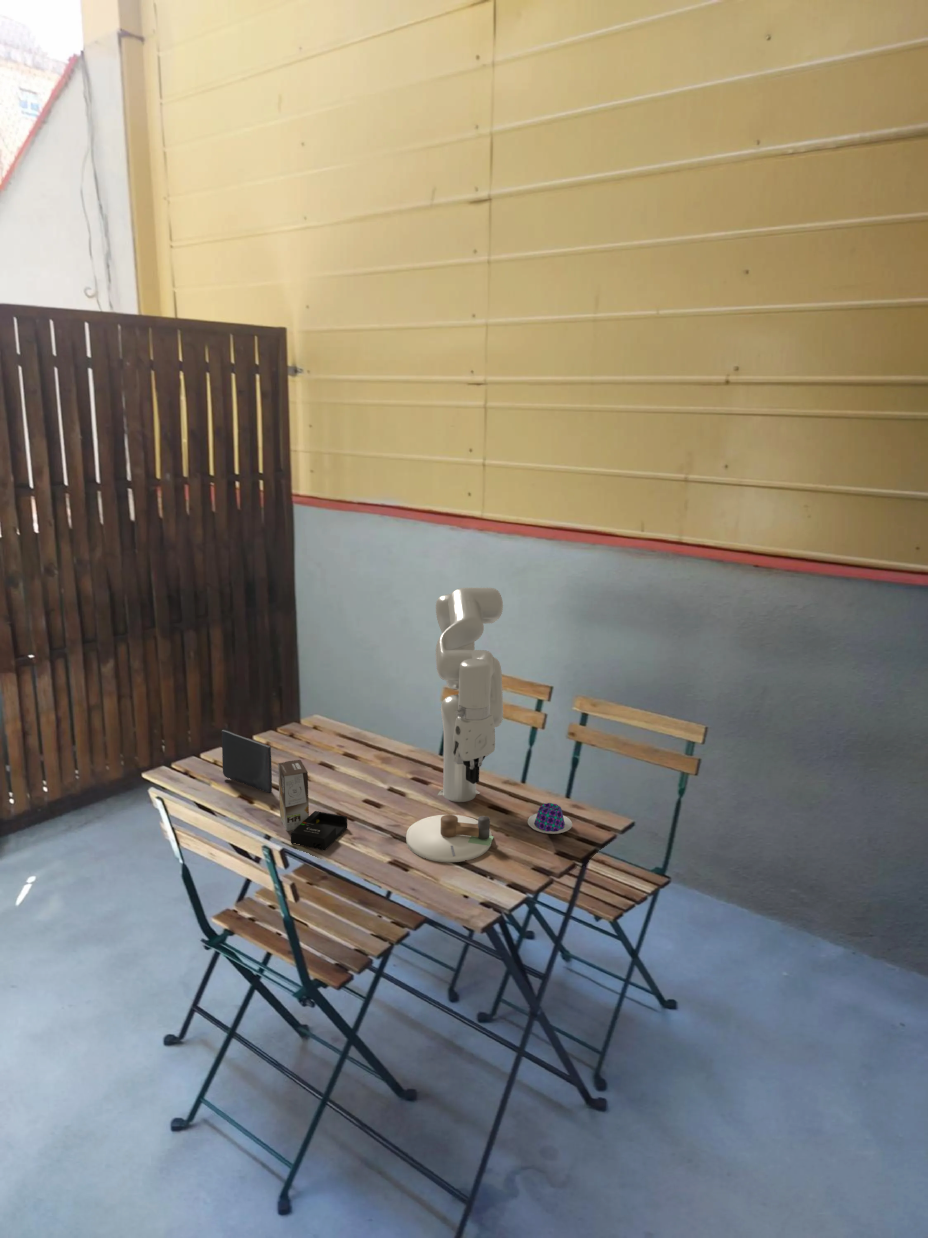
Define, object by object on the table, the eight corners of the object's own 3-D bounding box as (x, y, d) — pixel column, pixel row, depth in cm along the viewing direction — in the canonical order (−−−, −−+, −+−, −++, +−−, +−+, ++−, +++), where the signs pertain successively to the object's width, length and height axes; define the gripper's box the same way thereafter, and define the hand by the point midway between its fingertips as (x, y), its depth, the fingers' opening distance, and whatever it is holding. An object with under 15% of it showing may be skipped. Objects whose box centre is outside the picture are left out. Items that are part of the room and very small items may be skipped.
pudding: (580, 824, 224) (581, 806, 223) (555, 841, 215) (556, 822, 214) (544, 810, 232) (545, 793, 230) (518, 825, 223) (519, 808, 221)
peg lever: (438, 836, 212) (439, 817, 211) (442, 828, 216) (442, 810, 215) (487, 841, 209) (488, 823, 208) (490, 833, 214) (491, 815, 212)
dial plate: (403, 821, 223) (403, 816, 223) (485, 818, 226) (485, 812, 226) (409, 864, 202) (409, 858, 202) (499, 860, 205) (499, 854, 204)
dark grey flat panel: (275, 792, 239) (273, 743, 235) (270, 795, 237) (268, 745, 234) (227, 775, 249) (225, 728, 246) (222, 778, 248) (220, 730, 244)
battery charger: (324, 853, 207) (324, 839, 206) (290, 847, 210) (290, 832, 209) (347, 830, 219) (347, 816, 218) (315, 824, 222) (314, 810, 221)
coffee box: (310, 828, 218) (308, 772, 214) (285, 833, 216) (283, 776, 212) (302, 813, 227) (300, 759, 223) (279, 817, 224) (276, 762, 220)
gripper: (459, 722, 190) (457, 795, 195) (508, 708, 199) (505, 778, 204) (439, 712, 195) (438, 783, 200) (488, 699, 205) (485, 767, 209)
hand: (472, 781), depth 202 cm, fingers closed
